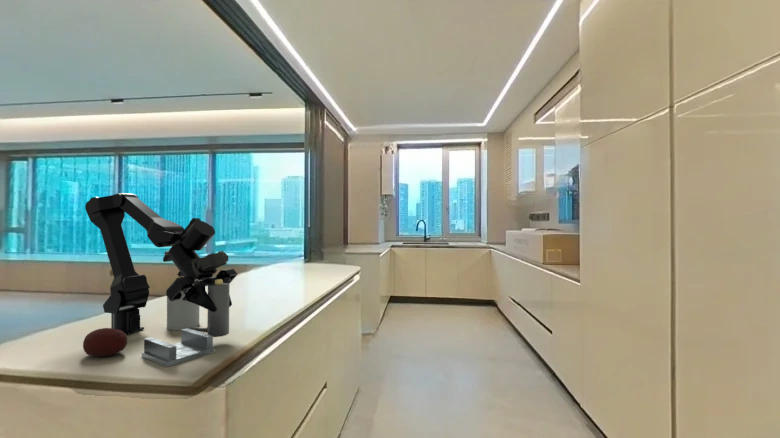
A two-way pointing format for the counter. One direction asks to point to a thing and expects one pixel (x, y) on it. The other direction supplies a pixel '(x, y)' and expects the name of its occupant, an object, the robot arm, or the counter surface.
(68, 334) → the counter surface
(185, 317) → the cup
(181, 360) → the housing
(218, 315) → the plug
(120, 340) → the potato
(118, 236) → the robot arm
